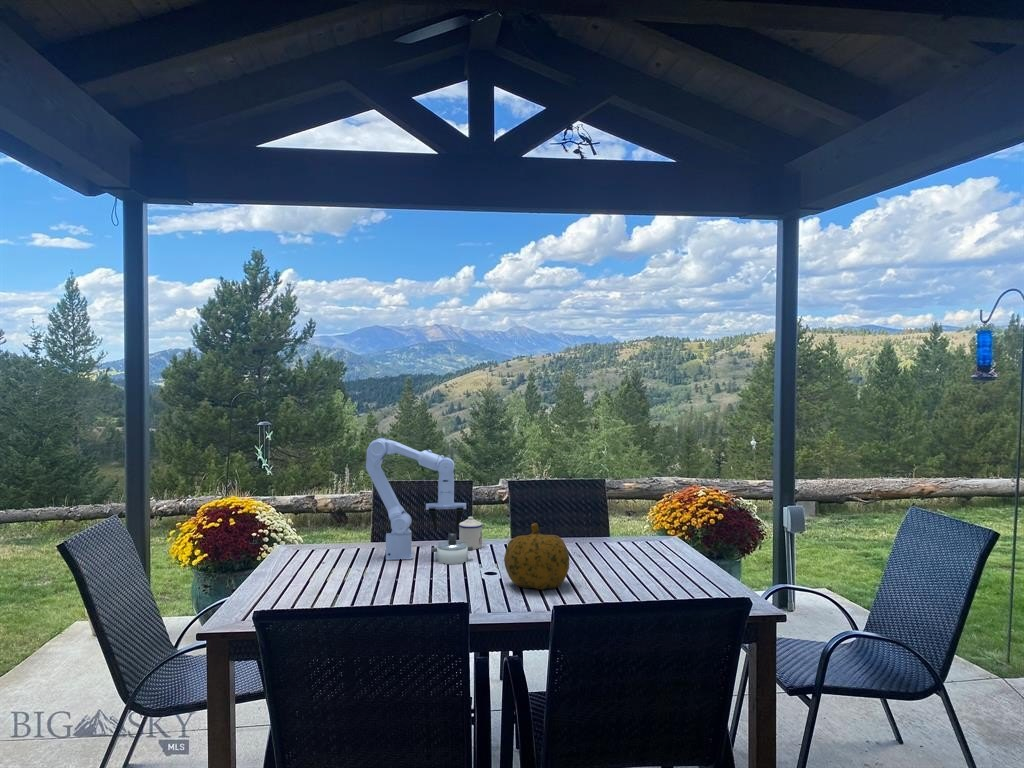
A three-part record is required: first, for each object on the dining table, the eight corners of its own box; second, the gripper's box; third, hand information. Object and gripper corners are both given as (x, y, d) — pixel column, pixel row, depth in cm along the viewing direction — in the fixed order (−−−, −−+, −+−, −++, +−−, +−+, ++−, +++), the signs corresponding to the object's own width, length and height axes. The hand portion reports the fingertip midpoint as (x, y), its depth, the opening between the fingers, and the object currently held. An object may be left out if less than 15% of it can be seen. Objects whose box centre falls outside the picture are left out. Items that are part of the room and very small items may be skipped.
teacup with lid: (484, 549, 278) (484, 518, 278) (461, 550, 275) (461, 519, 275) (477, 542, 289) (477, 512, 289) (455, 543, 287) (455, 514, 287)
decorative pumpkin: (553, 596, 214) (550, 527, 216) (494, 591, 226) (491, 526, 227) (584, 583, 231) (581, 519, 233) (527, 579, 243) (524, 518, 244)
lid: (436, 550, 255) (436, 537, 255) (439, 543, 265) (439, 531, 265) (465, 550, 255) (465, 537, 255) (467, 543, 265) (467, 531, 265)
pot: (432, 565, 254) (432, 550, 254) (431, 557, 265) (431, 543, 265) (474, 563, 256) (474, 549, 256) (471, 556, 267) (471, 542, 267)
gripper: (426, 493, 260) (425, 531, 260) (466, 493, 262) (466, 530, 262) (425, 490, 267) (425, 527, 267) (465, 490, 269) (465, 526, 269)
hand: (445, 529), depth 265 cm, fingers open, 7 cm apart
